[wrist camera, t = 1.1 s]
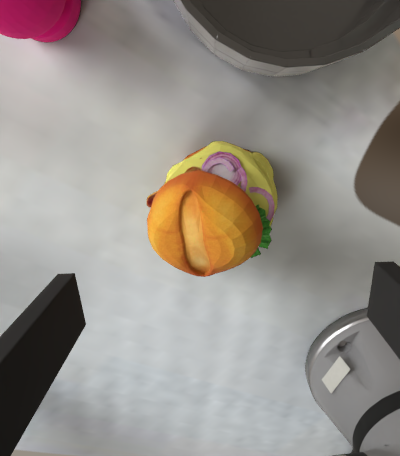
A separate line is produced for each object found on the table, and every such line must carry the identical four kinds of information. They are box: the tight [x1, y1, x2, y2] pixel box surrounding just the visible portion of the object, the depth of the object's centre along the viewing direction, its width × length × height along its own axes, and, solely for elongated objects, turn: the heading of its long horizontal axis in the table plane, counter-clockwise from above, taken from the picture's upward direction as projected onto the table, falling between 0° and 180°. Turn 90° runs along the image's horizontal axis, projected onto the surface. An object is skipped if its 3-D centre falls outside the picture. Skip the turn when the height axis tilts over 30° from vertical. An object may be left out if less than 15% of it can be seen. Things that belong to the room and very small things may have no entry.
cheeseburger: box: [147, 141, 278, 277], centre depth 27 cm, size 10×11×10 cm
